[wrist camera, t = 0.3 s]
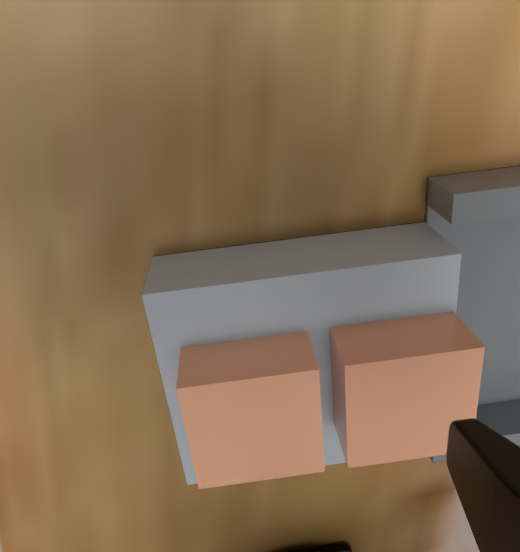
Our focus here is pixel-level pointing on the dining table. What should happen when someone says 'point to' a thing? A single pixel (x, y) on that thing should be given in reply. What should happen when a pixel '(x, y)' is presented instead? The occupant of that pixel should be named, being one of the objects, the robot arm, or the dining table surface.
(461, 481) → the robot arm
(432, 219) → the tray
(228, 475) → the tile
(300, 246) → the light grey slab
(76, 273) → the dining table surface
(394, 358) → the tile
